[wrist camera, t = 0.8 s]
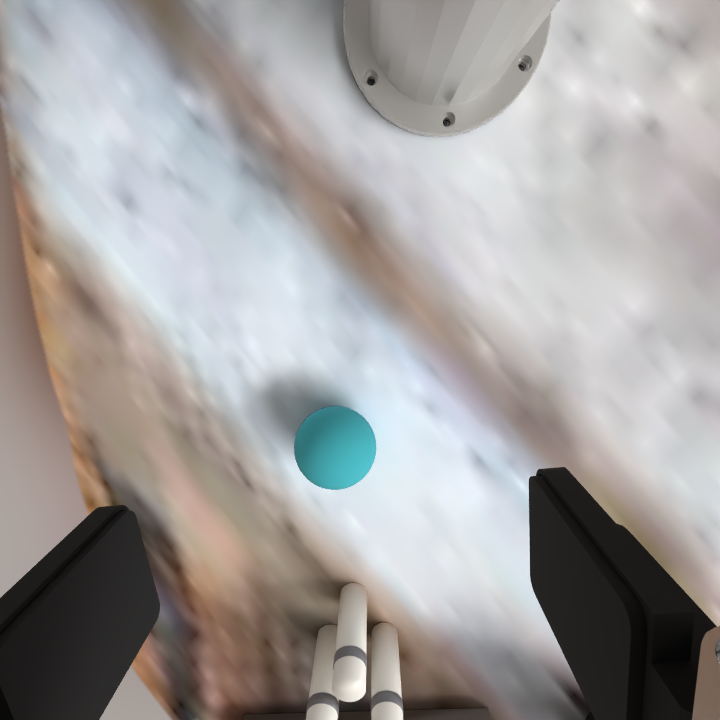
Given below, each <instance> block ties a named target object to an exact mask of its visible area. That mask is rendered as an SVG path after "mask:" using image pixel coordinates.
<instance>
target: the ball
mask: <svg viewBox="0 0 720 720" xmlns="http://www.w3.org/2000/svg"><path fill="white" fill-rule="evenodd" d="M294 453H295V459H296V462H297V465H298V467H299V469H300V471H301V472H302V473H303V475H304V476H305V477H306V478H307V479H308V480H309V481H310V482H312V483H313V484H315V485H317V486H319V487H322V488H325V489H331V490H338V489H344V488H348V487H350V486H352V485H354V484H356V483H358V482H359V481H360V480H362V479H363V478H364V477H365V475H366V474H367V473H368V472H369V470H370V469H371V467H372V464H373V462H374V459H375V454H376V441H375V436H374V433H373V430H372V428H371V426H370V425H369V423H368V422H367V421H366V419H365V418H364V417H362V416H361V415H360V414H359V413H357V412H356V411H354V410H352V409H349V408H346V407H341V406H331V407H326V408H322V409H320V410H317V411H316V412H314V413H312V414H311V415H310V416H309V417H308V418H307V419H305V421H304V422H303V423H302V425H301V426H300V428H299V430H298V432H297V435H296V438H295V444H294Z"/></svg>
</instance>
